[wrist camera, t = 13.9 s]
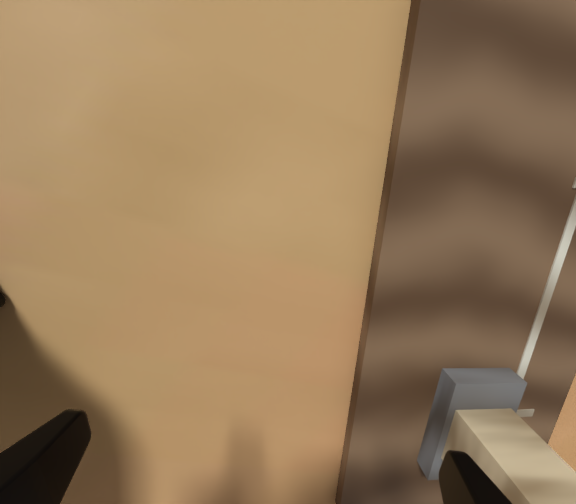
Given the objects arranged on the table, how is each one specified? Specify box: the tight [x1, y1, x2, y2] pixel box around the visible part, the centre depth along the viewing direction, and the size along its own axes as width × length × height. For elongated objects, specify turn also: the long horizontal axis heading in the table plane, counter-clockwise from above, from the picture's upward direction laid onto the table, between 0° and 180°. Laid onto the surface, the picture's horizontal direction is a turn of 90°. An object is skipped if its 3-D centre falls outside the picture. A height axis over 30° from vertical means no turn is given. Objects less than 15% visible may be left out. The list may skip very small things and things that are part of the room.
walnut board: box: [335, 0, 576, 504], centre depth 21 cm, size 34×16×1 cm, turn 176°
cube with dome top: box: [417, 368, 576, 504], centre depth 18 cm, size 8×5×12 cm, turn 175°
